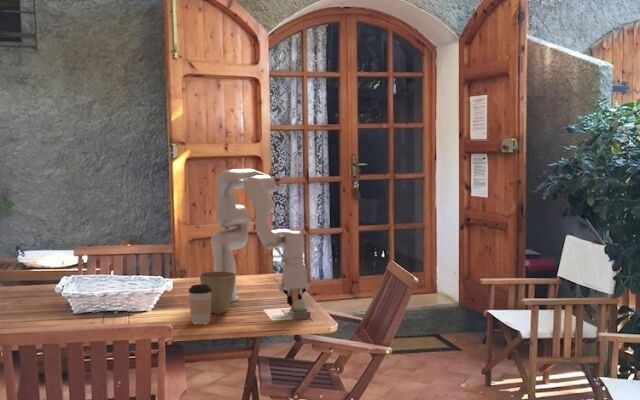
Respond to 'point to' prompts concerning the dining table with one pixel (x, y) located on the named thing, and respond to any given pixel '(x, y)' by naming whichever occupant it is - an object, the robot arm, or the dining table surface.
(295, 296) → the marker
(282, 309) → the colouring board
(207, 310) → the coffee cup
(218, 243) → the robot arm
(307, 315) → the button housing
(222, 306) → the plant pot
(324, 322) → the dining table surface
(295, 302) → the button
